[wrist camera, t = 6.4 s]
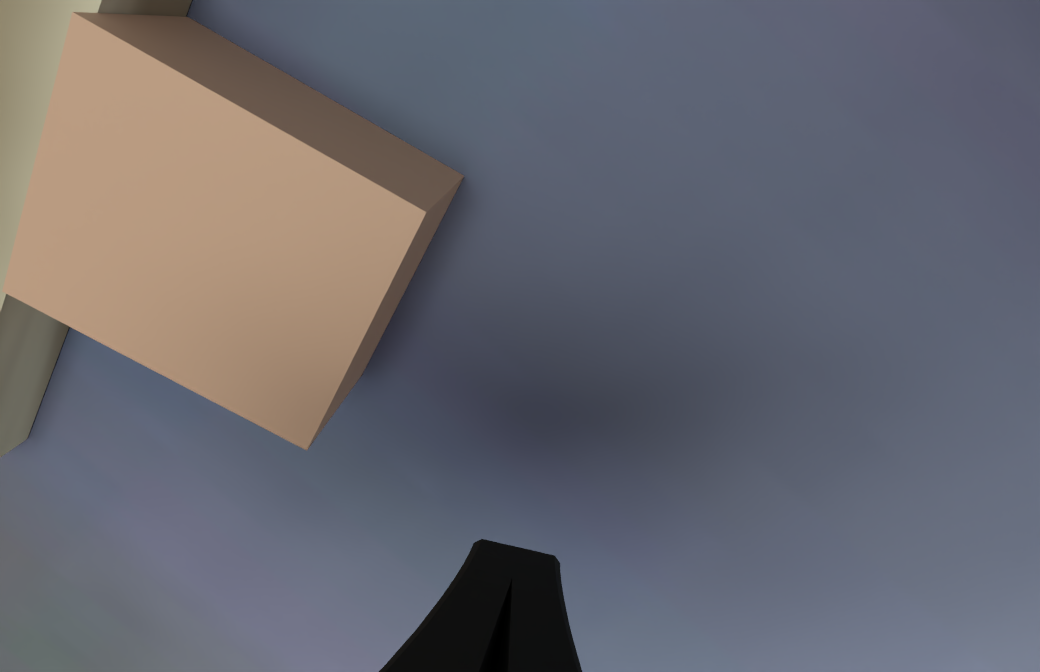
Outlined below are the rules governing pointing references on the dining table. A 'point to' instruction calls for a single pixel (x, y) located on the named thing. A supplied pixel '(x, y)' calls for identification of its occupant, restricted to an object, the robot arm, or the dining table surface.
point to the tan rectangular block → (220, 219)
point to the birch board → (5, 179)
